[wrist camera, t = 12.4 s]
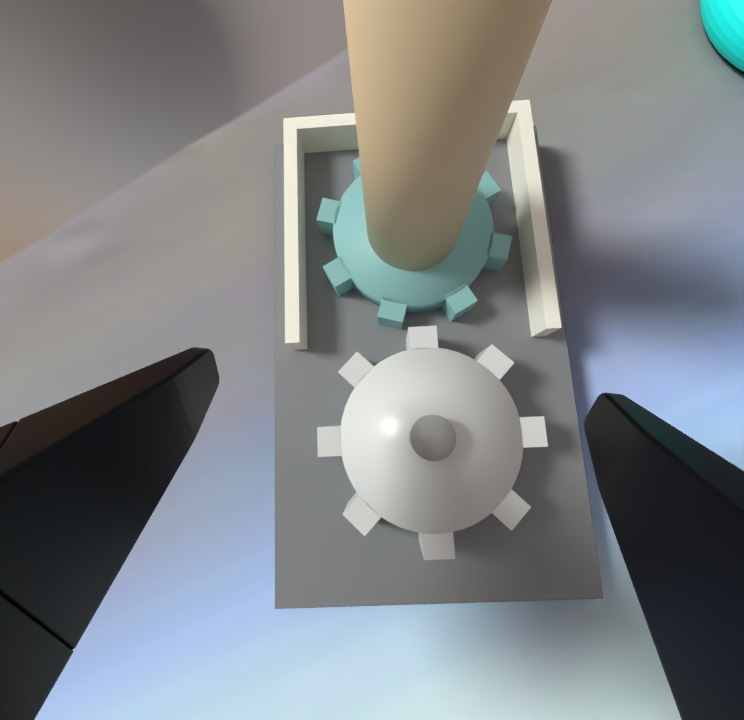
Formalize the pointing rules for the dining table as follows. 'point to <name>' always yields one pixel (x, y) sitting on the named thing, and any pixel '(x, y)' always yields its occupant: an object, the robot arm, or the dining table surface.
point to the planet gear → (426, 149)
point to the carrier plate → (325, 483)
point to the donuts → (725, 28)
